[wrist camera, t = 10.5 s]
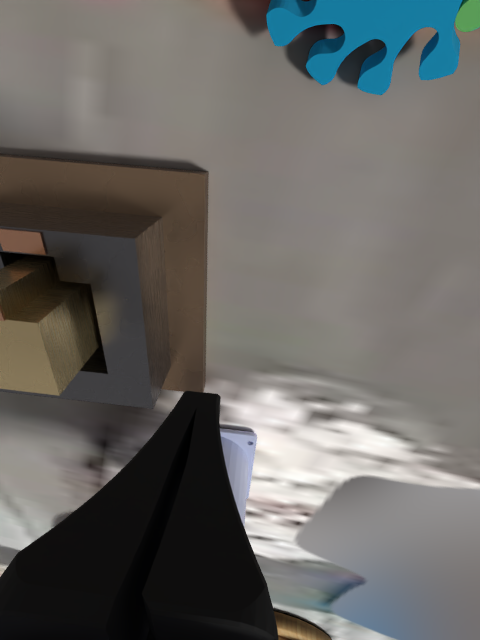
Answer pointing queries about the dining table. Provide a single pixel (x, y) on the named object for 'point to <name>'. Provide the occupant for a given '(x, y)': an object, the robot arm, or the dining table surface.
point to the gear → (375, 34)
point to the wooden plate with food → (297, 629)
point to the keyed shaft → (43, 326)
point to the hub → (119, 266)
